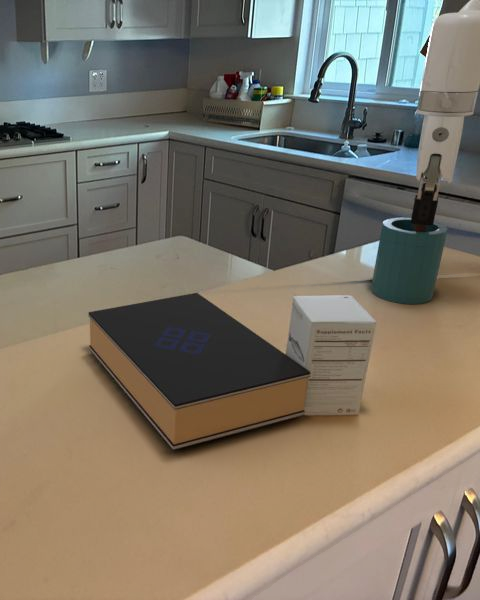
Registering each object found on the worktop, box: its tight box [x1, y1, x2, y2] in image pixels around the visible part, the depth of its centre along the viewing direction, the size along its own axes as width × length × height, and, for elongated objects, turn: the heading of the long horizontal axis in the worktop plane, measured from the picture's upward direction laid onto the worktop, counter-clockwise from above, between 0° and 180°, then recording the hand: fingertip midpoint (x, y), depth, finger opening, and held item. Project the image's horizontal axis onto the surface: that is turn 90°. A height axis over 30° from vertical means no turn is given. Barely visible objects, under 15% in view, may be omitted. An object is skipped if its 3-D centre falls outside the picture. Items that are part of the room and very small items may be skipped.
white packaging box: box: [285, 294, 377, 416], centre depth 73 cm, size 7×7×13 cm
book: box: [87, 292, 311, 451], centre depth 79 cm, size 17×25×7 cm
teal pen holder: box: [370, 217, 449, 305], centre depth 103 cm, size 9×9×12 cm
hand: (421, 221), depth 99 cm, fingers closed
